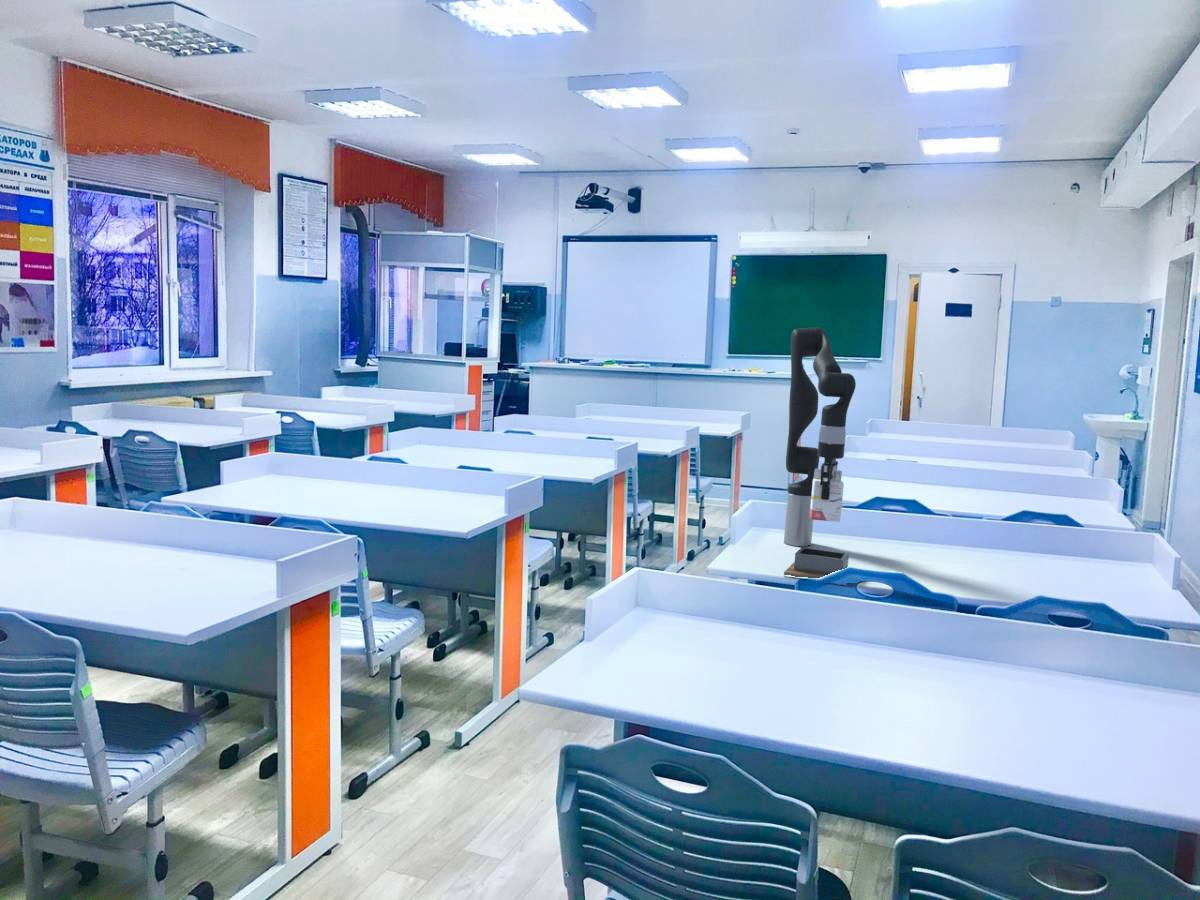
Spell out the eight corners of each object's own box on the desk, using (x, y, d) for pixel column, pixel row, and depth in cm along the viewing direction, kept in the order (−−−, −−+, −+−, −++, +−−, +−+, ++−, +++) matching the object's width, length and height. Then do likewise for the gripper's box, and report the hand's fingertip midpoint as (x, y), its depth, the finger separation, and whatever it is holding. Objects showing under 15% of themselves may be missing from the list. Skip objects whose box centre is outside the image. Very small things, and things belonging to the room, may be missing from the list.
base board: (796, 564, 301) (796, 559, 300) (855, 572, 294) (856, 568, 294) (783, 576, 284) (784, 571, 284) (846, 586, 277) (846, 580, 277)
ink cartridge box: (811, 520, 285) (815, 470, 283) (809, 517, 290) (813, 468, 288) (840, 522, 284) (845, 472, 282) (838, 519, 289) (842, 470, 287)
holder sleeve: (800, 563, 296) (802, 547, 295) (847, 569, 291) (848, 553, 290) (793, 569, 287) (795, 553, 286) (842, 576, 282) (843, 560, 281)
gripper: (823, 437, 292) (818, 493, 294) (814, 442, 279) (809, 499, 281) (848, 440, 289) (843, 496, 291) (840, 444, 276) (835, 503, 278)
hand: (826, 497), depth 286 cm, fingers closed on ink cartridge box, 5 cm apart
